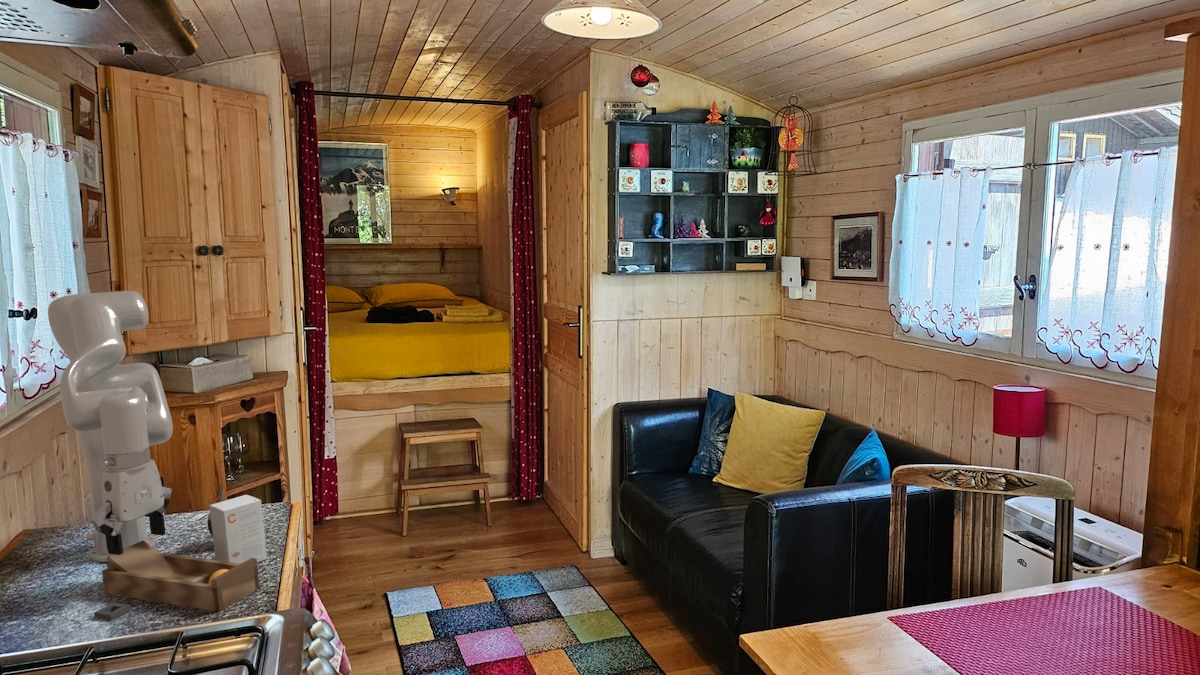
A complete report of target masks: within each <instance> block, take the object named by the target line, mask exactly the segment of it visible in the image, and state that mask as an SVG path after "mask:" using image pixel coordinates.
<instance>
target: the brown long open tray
mask: <svg viewBox="0 0 1200 675" xmlns="http://www.w3.org/2000/svg"><path fill="white" fill-rule="evenodd" d="M106 560H107V561H108V562H106V567H107V568H105V569H103V570H102V571H101V575H102V581H103V589H104V594H106V595H110V596H111V595H112V596H117V595H118V597H123V596H125V598H130V597H131V598H130V599H135V600H136V599H138V600H144V601H150V602H155V603H163V604H168V605H173V604H174V606H179V605H180V606H179V607H185V606H187V608H193V609H198V608H199V610H206V611H212V612H217V613H220V612H223V611H224V610H225V609H227V608H229V607H231V606H232V605H234V604H236V603H238V602H240V601H241V600H242V599H244V598H246V597H247V596H249V595H251V594H252V593H254V592H256V591H257V590H259V589H260V580H259V570H258V569H259V568H258V562H257V558H250V559H248V560H247V561H245V562H243V563H241V564H240V563H232V562H225V561H218V560H215V559H208V558H202V557H201V558H200V557H196V556H195V557H194V556H187V555H181V554H180V555H179V554H173V553H172V554H171V553H165V552H159V551H158V550H156V549H155V547H154V548H152V547H151V546H150V545H149V544H147V543H146V542H145V541H144V540H143V541H140V542H138V543H136V544H134V545H131V546H129V547H127V548H125V549H123V554H121V555H115V554H111V555H109V556H108V557H107V559H106ZM221 569H228V571H226V572H225V573H223V574H221V575H219V576H217V577H215V578H214V579H212V580H211V582H212V585H211V584H208V581H209V579H210V577H211V576H212V574H213V573H215V572H216V571H218V570H221ZM255 590H256V591H255Z"/></svg>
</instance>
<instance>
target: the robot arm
mask: <svg viewBox="0 0 1200 675" xmlns="http://www.w3.org/2000/svg"><path fill="white" fill-rule="evenodd" d="M47 317H48V322H49V327H50V329H51V332H52V334H53V337H54V339H55V341H56V342H57V344H58V345H59V347H60V349H61V350H62V351H63V353H64V354H65V356H67V359H68V360H69V363H68V364H67V365H66V367H65V369H64V371H63V372H62V375H61V376H60V377H61V378H60V383H59V396H60V400H61V405H62V411H63V416H64V419H65V422H66V424H67V425H68V426H69V427H70V428H71V430H74V431H77V435H78V436H77V437H78V440H79V443H80V445H81V449H82V452H83V457H84V460H85V466H86V470H87V477H88V484H89V487H88V488H89V494H90V502H91V508H92V510H91V511H92V515H91V517H90V519H89V521H90V523H92V525H93V527H94V528H93V529H92V530H91V533H88V534H87V535H86V539H87V540H88V541H93V545H94V546H93V547H92V548H91V549H90V550H89V551H88V556H89V559H90V560H92V561H94V562H99V563H109V562H108V561H107V560H106V559H107V557H108V556H109V555H111V554H115V555H121V554H123V549H125V548H127V547H129V546H131V545H134V544H136V543H138V542H140V541H143V540H144V541H145V542H146V543H147V544H149V545H150V546H151V547H152V548H154V549H155V547H156V546H157V538H156V537H155V536H165V535H166V526H165V525H166V524H165V517H164V516H165V515H166V514H167V513H168V512H167V508H168V506H169V504H170V502H171V501H170V499H171V495H172V491H173V489H172V488H171V487H166V486H163V485H162V480H161V475H160V472H159V468H158V466H157V464H156V461H155V460H154V459H152V458H151V452H150V446H156V445H161V444H164V443H167V442H168V441H169V440H170V439H171V438H172V436H173V432H174V431H173V430H174V427H173V426H174V425H173V419H172V415H171V410H170V408H169V405H168V401H167V397H166V394H165V390H164V387H163V382H162V380H161V377H160V375H159V373H158V370H157V369H156V368H155V366H153V365H152V364H150V363H146V362H134V363H127V364H126V363H125V364H120V363H121V362H122V361H123V359H124V358H125V356H126V353H127V348H126V344H125V342H124V338H123V334H122V332H128V331H137V330H138V331H139V330H143V329H145V328H146V327H147V325H148V323H149V309H148V306H147V303H146V301H145V299H144V297H143V296H142V295H141V294H140V293H139V292H137V291H133V290H119V291H118V290H117V291H116V290H115V291H107V292H106V291H105V292H90V293H88V292H87V293H75V294H74V293H73V294H68V295H63V296H60V297H57V298H56V299H54V300H52V301H51V302H50V303H49V306H48V308H47ZM148 515H149V516H148ZM146 516H148V521H149V529H150V530H149V531H150V534H151V535H149V534H148V529H147V519H146ZM152 535H155V536H152Z"/></svg>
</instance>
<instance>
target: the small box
mask: <svg viewBox="0 0 1200 675" xmlns="http://www.w3.org/2000/svg"><path fill="white" fill-rule="evenodd" d="M262 506H263V505H262V499H260V498H258V497H255V496H252V495H248V494H244V495H240V496H237V497H234V498H230V499H226V500H223V501H222V502H221V501H219V502H216V503H213V504H209V514H210V516H211V525H212V534H213V537H212V539H213V542H212V543H213V549H214V550H213V551H214V557H215V559H214V560H218V561H225V562H232V563H240V564H241V563H243V562H245V561H247V560H248V559H250V558H257V563H260V562H263V561H265V560H267V559H268V557H267V547H266V546H267V545H266V538H265V536H266V535H265V527H264V518H263V517H264V515H263V507H262Z"/></svg>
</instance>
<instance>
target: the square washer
mask: <svg viewBox="0 0 1200 675" xmlns="http://www.w3.org/2000/svg"><path fill="white" fill-rule="evenodd" d="M131 607H132V606H131V605H129V604H124V603H121V602H112V603H111V604H108V605H107V606H104V607H102V608H100V609H98V610H96V611H95V612H94V613H93V614H94V618H95V619H99V620H106V621H110V620H111V621H114V620H116V619H118V618H120V617H121V616H123V615H125V614H127V613H130V612H131V611H132V608H131ZM119 616H120V617H119ZM117 617H118V618H117ZM115 618H116V619H115Z"/></svg>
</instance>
